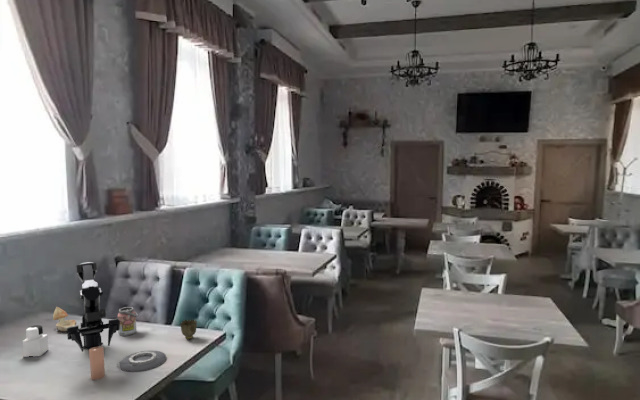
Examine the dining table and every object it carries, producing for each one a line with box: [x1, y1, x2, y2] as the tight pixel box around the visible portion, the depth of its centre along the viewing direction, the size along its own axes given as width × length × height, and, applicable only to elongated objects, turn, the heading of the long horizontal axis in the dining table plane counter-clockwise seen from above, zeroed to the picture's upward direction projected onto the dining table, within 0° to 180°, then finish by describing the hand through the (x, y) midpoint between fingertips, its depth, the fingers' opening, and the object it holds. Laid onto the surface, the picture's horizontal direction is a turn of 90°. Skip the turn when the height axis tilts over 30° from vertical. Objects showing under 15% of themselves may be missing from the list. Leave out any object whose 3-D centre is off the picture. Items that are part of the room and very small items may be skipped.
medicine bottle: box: [21, 324, 49, 358], centre depth 194 cm, size 7×7×12 cm
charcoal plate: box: [118, 350, 167, 373], centre depth 184 cm, size 18×18×1 cm
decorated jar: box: [117, 306, 139, 337], centre depth 216 cm, size 9×8×12 cm
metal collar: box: [129, 350, 156, 366], centre depth 184 cm, size 11×11×1 cm
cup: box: [179, 319, 198, 341], centre depth 207 cm, size 8×7×8 cm
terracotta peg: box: [88, 345, 106, 381], centre depth 171 cm, size 5×5×11 cm
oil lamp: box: [52, 306, 79, 332], centre depth 222 cm, size 9×21×10 cm, turn 51°
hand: (95, 348), depth 173 cm, fingers open, 9 cm apart
